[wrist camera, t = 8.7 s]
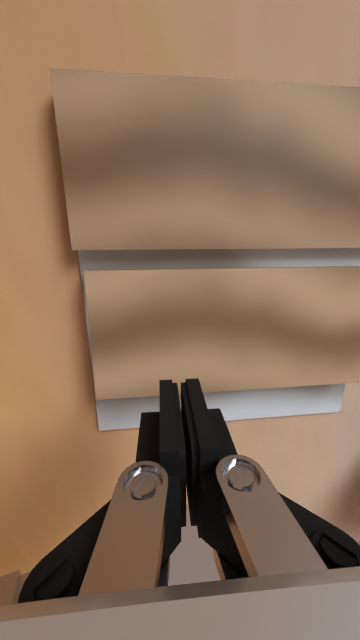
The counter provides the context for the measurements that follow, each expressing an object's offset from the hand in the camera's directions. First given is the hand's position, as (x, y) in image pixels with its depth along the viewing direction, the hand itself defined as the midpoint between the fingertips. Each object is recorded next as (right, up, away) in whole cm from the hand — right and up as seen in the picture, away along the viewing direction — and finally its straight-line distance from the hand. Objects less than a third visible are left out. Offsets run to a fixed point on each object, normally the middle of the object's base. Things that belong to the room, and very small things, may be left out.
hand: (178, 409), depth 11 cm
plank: (+4, +3, +6) cm, 8 cm away
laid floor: (+3, +6, +6) cm, 9 cm away
